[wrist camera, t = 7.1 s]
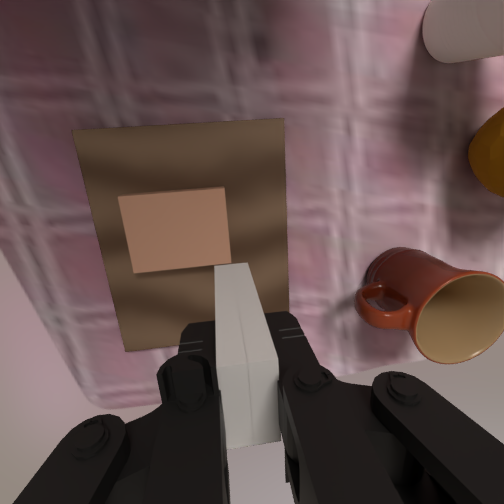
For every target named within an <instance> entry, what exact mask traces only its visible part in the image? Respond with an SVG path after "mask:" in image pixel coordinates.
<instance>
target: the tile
mask: <svg viewBox="0 0 504 504" xmlns="http://www.w3.org/2000/svg"><path fill="white" fill-rule="evenodd" d="M118 201H119V206H120V210H121V215H122V220H123V225H124V229H125V234H126V239H127V244H128V248H129V253H130V258H131V263H132V267H133V272H134V273H142V272H152V271H161V270H170V269H180V268H189V267H199V266H208V265H218V264H227V263H231V252H230V242H229V231H228V220H227V209H226V199H225V188H224V186H222V187H209V188H197V189H184V190H171V191H159V192H146V193H134V194H123V195H120V196H118Z"/></svg>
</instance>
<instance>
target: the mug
mask: <svg viewBox="0 0 504 504" xmlns="http://www.w3.org/2000/svg"><path fill="white" fill-rule="evenodd" d="M368 300H374V301H375V302H376V303H377V304H378V305H379V306H380V307H381V308H382V309H384V310H385V311H380V310H377V309H375V308H374V307H372V306H371V305H370V304H369V303H368V302H367V301H368ZM354 305H355V309H356V311H357V313H358V314H359V316H360V317H361V318H362V319H363V320H364V321H365V322H366V323H368V324H369V325H371V326H374V327H376V328H381V329H398V330H407V331H408V332H409V334H410V336H411V338H412V340H413V342H414V344H415V346H416V347H417V349H418V350H419V352H420V353H421V354H422V355H423V356H424V357H426V358H427V359H429V360H431V361H433V362H436V363H440V364H456V363H461V362H464V361H467V360H470V359H472V358H474V357H476V356H478V355H480V354H481V353H483V352H484V351H485V350H487V349H488V348H489V347H490V346H491V345H492V344H493V343H494V342H495V341H496V340H497V339H498V338H499V337H500V335H501V334H502V332H503V331H504V281H503V280H501V279H500V278H499V277H497V276H495V275H493V274H491V273H488V272H483V271H473V270H464V269H459V268H455V267H453V266H451V265H449V264H447V263H445V262H443V261H441V260H439V259H437V258H435V257H433V256H431V255H429V254H427V253H426V252H423V251H421V250H416V249H410V248H406V247H397V248H392V249H390V250H387V251H385V252H384V253H382V254H381V255H380V256H378V257H377V258H376V259H375V261H374V262H373V263H372V264H371V266H370V268H369V270H368V274H367V285H365V286H364V287H362V288H360V289H359V290H357V292H356V294H355V298H354Z"/></svg>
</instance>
